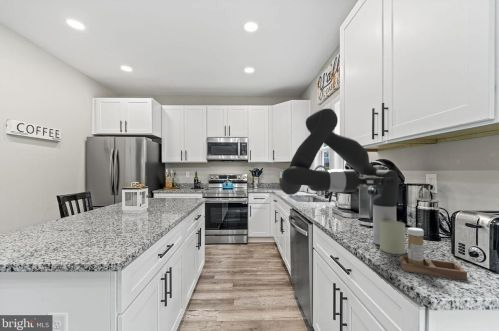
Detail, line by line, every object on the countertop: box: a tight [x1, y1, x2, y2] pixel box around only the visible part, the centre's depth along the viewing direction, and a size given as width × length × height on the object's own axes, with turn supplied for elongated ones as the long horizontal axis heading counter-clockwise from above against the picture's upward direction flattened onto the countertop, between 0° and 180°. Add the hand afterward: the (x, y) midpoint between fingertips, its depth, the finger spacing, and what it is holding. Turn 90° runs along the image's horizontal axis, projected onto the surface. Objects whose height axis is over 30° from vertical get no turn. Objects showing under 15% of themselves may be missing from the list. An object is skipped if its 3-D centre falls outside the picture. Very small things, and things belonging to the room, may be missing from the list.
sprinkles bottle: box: [407, 227, 425, 265], centre depth 83 cm, size 5×5×14 cm
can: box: [379, 220, 406, 255], centre depth 102 cm, size 9×9×12 cm
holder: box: [398, 254, 468, 281], centre depth 82 cm, size 8×16×2 cm, turn 66°
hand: (387, 180), depth 83 cm, fingers open, 8 cm apart
